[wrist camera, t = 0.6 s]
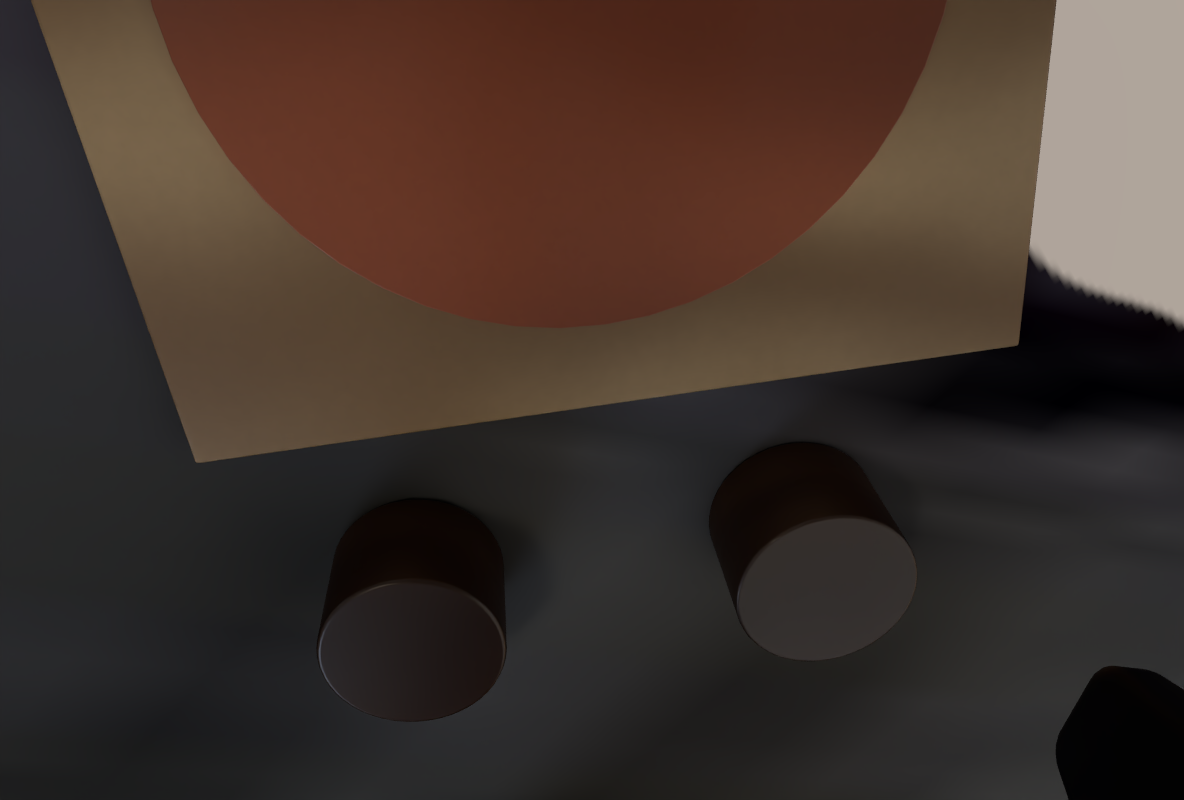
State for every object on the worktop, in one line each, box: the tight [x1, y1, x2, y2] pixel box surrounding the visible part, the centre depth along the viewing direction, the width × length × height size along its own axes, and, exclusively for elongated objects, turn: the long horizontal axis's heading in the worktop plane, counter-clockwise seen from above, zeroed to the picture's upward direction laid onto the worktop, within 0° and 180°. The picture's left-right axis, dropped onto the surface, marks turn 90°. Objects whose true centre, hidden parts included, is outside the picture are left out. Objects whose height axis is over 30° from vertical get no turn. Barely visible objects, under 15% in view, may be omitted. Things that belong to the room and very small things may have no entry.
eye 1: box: [316, 499, 507, 722], centre depth 23 cm, size 4×4×3 cm
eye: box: [709, 443, 917, 661], centre depth 23 cm, size 4×4×3 cm
